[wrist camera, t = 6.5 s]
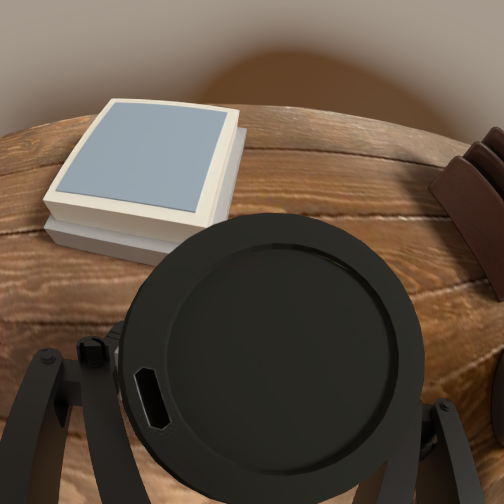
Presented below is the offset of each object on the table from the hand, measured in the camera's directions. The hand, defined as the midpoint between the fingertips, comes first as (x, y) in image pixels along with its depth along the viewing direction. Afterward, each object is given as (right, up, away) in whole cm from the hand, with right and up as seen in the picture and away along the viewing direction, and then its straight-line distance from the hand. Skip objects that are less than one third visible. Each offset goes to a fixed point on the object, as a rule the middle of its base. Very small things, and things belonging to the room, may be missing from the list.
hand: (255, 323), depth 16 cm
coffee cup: (-1, -5, +4) cm, 7 cm away
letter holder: (+33, +7, +17) cm, 38 cm away
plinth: (-10, +10, +11) cm, 18 cm away
